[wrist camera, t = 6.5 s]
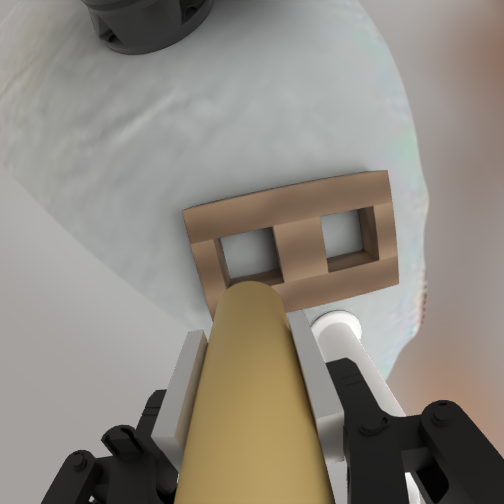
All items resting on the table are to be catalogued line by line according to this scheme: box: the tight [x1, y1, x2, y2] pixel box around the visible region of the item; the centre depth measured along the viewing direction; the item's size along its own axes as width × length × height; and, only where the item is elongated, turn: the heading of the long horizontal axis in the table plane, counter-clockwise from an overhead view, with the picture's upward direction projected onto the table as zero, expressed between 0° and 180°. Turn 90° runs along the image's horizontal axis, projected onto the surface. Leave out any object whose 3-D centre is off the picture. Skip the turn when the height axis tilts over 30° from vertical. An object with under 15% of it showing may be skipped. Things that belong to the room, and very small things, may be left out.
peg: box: [174, 281, 336, 504], centre depth 9 cm, size 4×4×15 cm
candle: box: [311, 311, 420, 504], centre depth 22 cm, size 7×7×25 cm
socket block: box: [182, 170, 399, 321], centre depth 29 cm, size 12×20×4 cm, turn 102°
